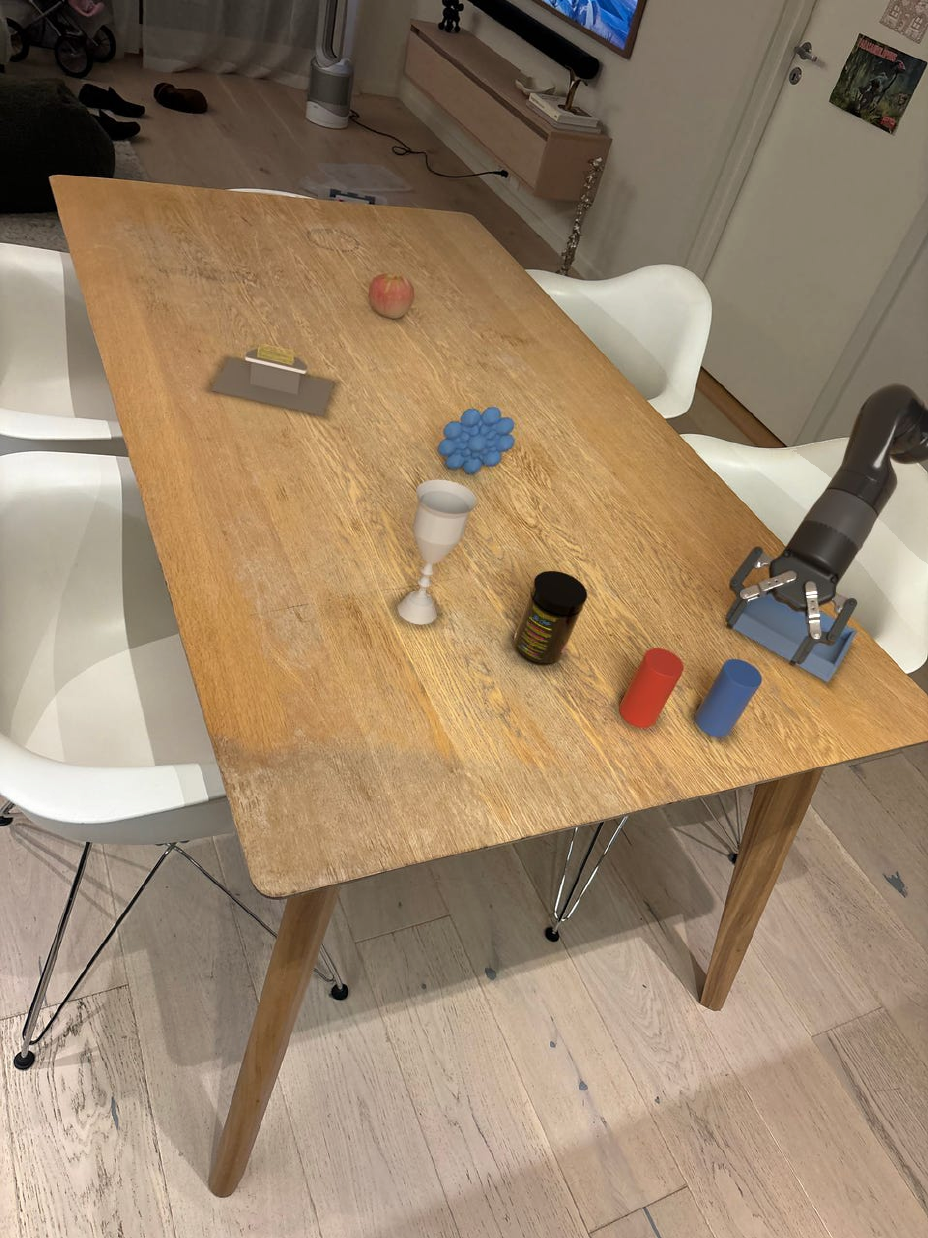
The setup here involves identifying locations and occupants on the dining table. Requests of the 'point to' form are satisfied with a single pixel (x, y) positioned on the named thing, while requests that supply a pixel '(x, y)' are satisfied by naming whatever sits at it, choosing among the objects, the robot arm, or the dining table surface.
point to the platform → (274, 381)
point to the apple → (391, 295)
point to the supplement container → (549, 617)
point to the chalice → (435, 538)
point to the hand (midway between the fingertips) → (759, 645)
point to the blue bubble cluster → (476, 440)
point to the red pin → (651, 687)
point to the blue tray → (792, 634)
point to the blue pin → (727, 697)
